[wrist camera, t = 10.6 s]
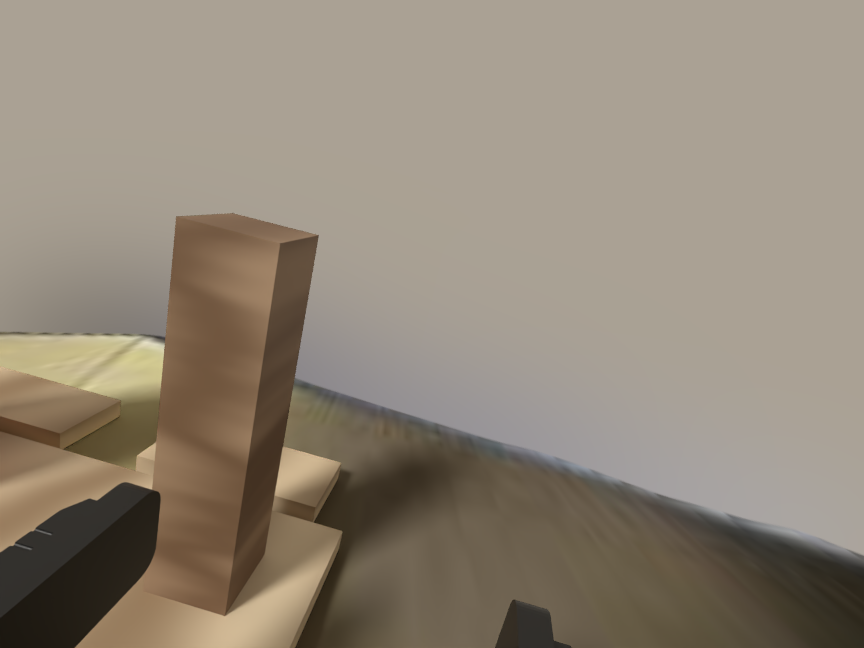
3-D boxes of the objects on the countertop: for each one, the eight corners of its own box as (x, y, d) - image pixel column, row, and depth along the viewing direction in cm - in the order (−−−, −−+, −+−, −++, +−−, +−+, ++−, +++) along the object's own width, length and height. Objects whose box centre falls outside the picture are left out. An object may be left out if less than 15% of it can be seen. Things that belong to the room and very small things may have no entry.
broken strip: (338, 478, 27) (341, 463, 27) (311, 525, 23) (315, 507, 23) (-25, 375, 28) (-25, 359, 28) (-107, 402, 24) (-108, 384, 24)
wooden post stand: (338, 549, 22) (405, 246, 18) (255, 736, 14) (340, 281, 11) (-100, 420, 23) (-123, 112, 20) (-392, 528, 16) (-521, 57, 12)
